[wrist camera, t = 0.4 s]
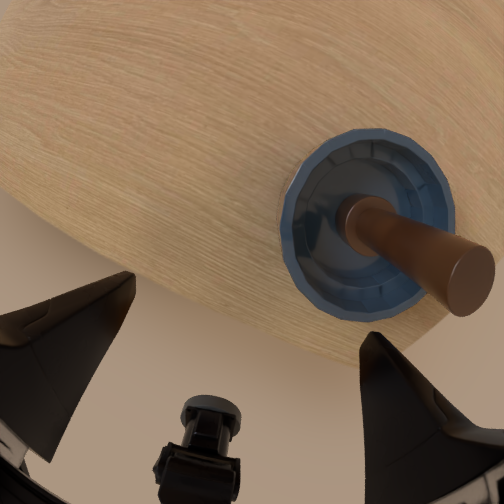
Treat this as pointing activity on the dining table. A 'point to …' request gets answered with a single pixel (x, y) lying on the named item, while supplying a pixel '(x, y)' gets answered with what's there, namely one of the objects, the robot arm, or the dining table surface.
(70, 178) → the dining table surface
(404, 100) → the dining table surface
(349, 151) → the bowl
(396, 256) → the pestle
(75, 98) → the dining table surface
